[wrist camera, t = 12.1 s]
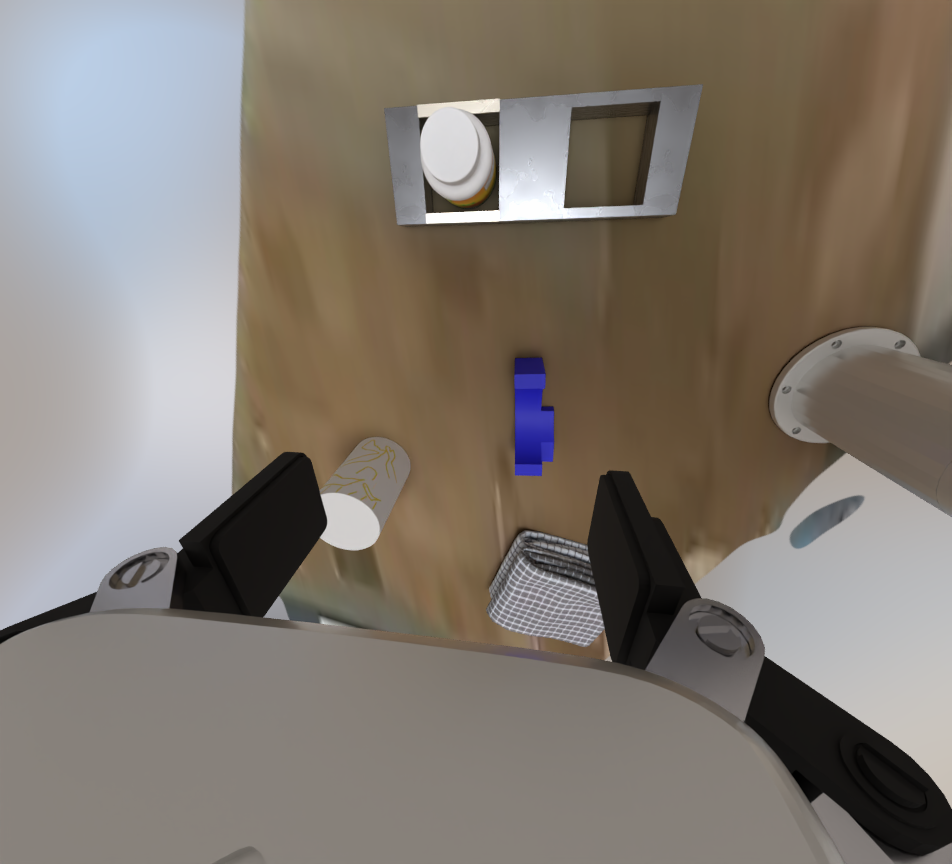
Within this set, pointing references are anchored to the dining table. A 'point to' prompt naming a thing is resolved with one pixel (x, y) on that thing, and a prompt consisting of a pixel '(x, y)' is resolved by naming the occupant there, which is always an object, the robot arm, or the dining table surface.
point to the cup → (363, 493)
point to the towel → (547, 590)
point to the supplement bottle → (458, 157)
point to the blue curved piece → (532, 418)
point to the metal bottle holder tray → (549, 155)
